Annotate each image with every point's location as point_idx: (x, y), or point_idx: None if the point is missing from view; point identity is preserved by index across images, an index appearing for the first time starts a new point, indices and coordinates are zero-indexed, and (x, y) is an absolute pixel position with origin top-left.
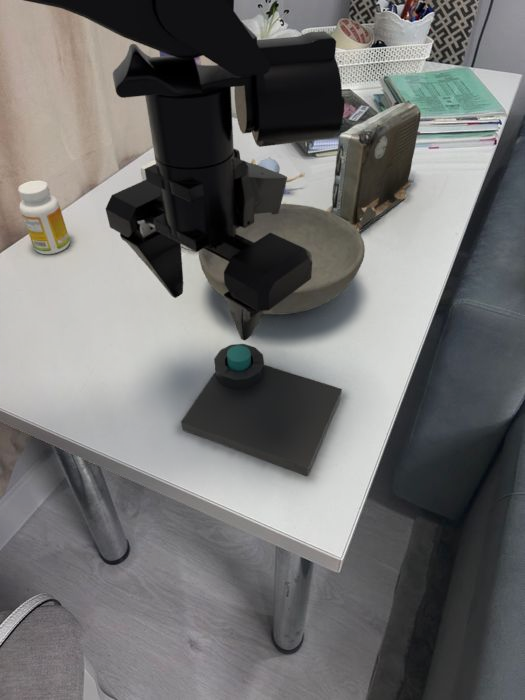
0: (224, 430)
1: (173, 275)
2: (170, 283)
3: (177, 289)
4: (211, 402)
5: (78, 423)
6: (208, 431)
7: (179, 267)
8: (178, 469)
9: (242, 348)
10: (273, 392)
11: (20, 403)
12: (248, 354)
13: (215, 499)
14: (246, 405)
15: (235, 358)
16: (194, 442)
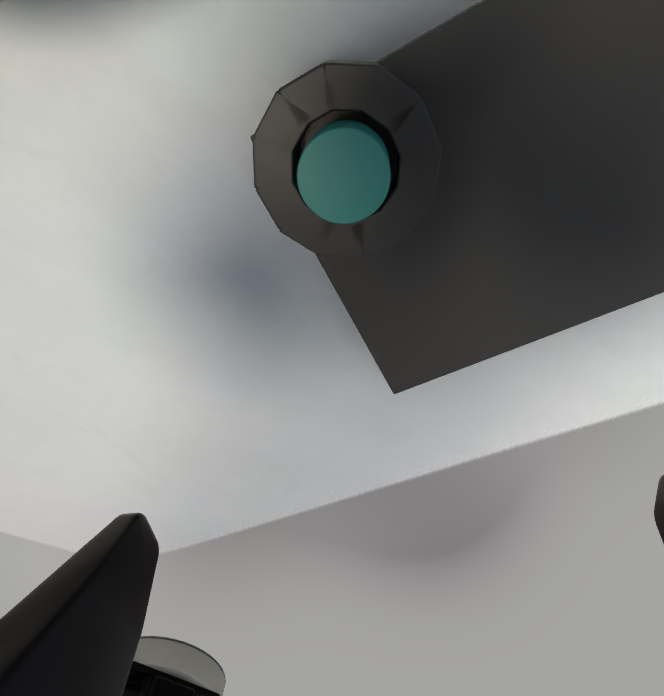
0: (500, 335)
1: (86, 668)
2: (119, 650)
3: (136, 571)
4: (395, 305)
5: (231, 503)
6: (468, 364)
7: (42, 663)
8: (474, 432)
9: (330, 148)
10: (508, 128)
11: None
12: (374, 151)
13: (594, 419)
14: (480, 236)
15: (357, 205)
16: None
